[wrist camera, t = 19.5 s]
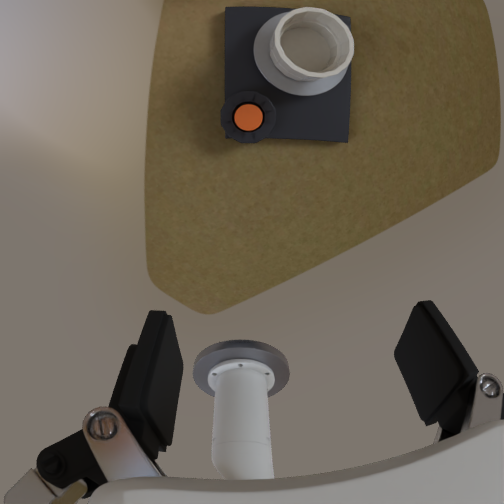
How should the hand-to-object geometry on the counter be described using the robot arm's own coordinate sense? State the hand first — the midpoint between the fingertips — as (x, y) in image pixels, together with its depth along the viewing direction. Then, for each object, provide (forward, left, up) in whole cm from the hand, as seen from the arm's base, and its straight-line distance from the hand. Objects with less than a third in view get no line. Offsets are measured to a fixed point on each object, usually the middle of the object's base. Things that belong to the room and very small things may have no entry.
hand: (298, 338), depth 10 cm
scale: (+12, -3, -26) cm, 29 cm away
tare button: (+7, +1, -24) cm, 25 cm away
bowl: (+14, -4, -23) cm, 27 cm away
